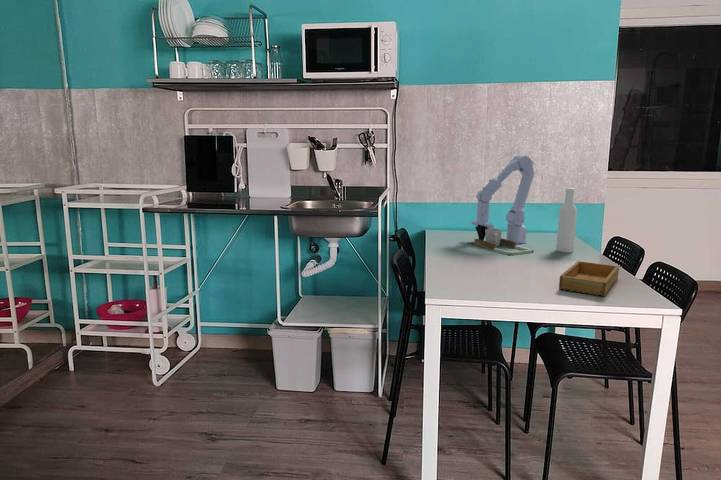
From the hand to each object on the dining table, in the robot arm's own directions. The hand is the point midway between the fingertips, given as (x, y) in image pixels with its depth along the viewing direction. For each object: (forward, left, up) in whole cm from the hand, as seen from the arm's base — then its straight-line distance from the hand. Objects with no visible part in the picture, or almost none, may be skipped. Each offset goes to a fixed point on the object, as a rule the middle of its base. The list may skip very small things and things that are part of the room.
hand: (481, 240), depth 273 cm
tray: (+14, +78, -2) cm, 79 cm away
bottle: (-24, +32, -1) cm, 40 cm away
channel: (0, +10, -1) cm, 10 cm away
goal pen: (0, +23, -1) cm, 23 cm away
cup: (0, +9, -1) cm, 9 cm away
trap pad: (0, 0, -1) cm, 1 cm away
